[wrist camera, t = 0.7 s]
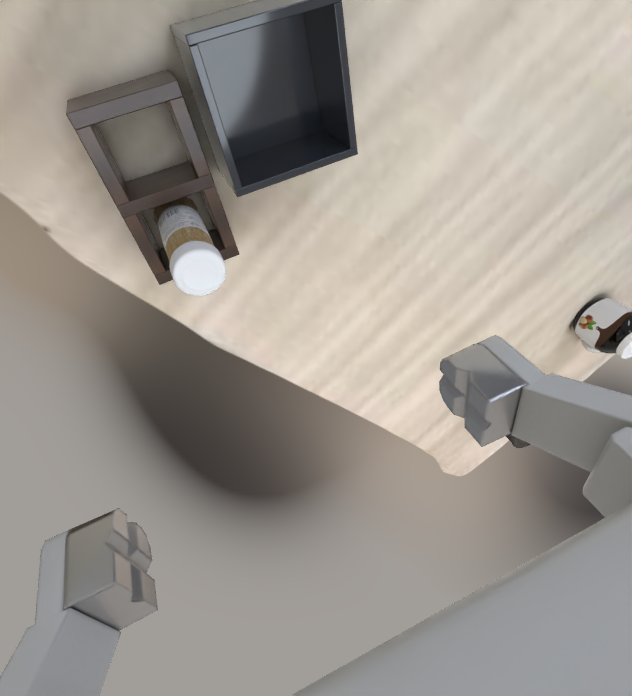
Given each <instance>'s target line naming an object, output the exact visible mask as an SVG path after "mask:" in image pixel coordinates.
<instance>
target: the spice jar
mask: <svg viewBox="0 0 632 696" xmlns="http://www.w3.org/2000/svg"><path fill="white" fill-rule="evenodd" d="M154 219H155V222H156V223H157V225H158V228H159V231H160V235H161V238H162V241H163V245H164V248H165V250H166V253H167V256H168V259H169V262H170V265H169V267H170V272H171V275H172V278H173V280H174V282H175V284H176V286H177V287H178V288H179V289H180V290H181V291H183V292H184V293H186V294H189V295H192V296H204V295H208V294H210V293H212V292H214V291H216V290H217V289H218V288H219V287H220V286H221V285H222V283H223V282H224V280H225V277H226V265H225V262H224V260H223V258H222V256H221V254H220V252H219V251H218V250H217V248H215V247H214V245H213V242H212V239H211V237H210V235H209V233H208V231H207V229H206V227H205V225H204V223H203V221H202V219H201V217H200V215H199V214H198V212H197V208H196V206H195V204H194V203H193V201H192V200H191V199H190V198H188V197H187V196H185V197H182V198H179V199H176V200H174V201H171V202H168V203H165V204H162V205H159V206H156V207H155V208H154Z"/></svg>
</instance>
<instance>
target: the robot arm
mask: <svg viewBox="0 0 632 696" xmlns="http://www.w3.org/2000/svg"><path fill="white" fill-rule="evenodd" d="M440 371H441V372H442V373H443V374H444V375H443V377H442V378H441V380H440V381H439V385H440V393H441V395H442V398H443V400H444V402H445V404H446V405H447V407H448V408H449V409H450V411H451V412H452V413H453V414H454V415H457V416H460V417H462V418H464V421H465V428H466V429H467V431H468V432H469V433H470V434H471V435H472V436H473V437H474V439H475V440H476V441H477V442H478V443H479V444H480V446H481V447H483V446H485V445H487V444H489V443H491V442H494V441H496V440H498V439H500V438H502V437H504V436H506V435H509V434H511V433H512V434H511V435H512V436H514V437H516V438H519V439H521V440H523V441H525V442H527V443H529V444H532V445H534V446H536V447H538V448H540V449H542V450H544V451H546V452H549V453H551V454H553V455H555V456H557V457H559V458H561V459H564V460H566V461H568V462H570V463H572V464H574V465H576V466H579V467H581V468H583V469H585V470H587V471H589V472H591V474H590V476H589V477H588V479H587V481H586V483H585V485H584V487H583V495H584V496H585V497H586V498H587V499H588V500H589V501H590V502H591V503H592V504H593V505H594V506H595V507H596V508H597V509H598V510H599V511H600V512H601V513H602V515H603V516H604V517H605V519H603V520H601V521H599V522H597V523H595V524H594V525H592V526H590V527H588V528H587V529H585V530H583V531H581V532H580V533H578V534H576V535H574V536H572V537H571V538H569V539H567V540H565V541H564V542H562V543H560V544H558V545H556V546H555V547H553V548H551V549H549V550H548V551H546V552H544V553H543V554H541V555H539V556H537V557H535V558H533V559H532V560H530V561H528V562H526V563H525V564H523V565H521V566H519V567H518V568H516V569H514V570H512V571H510V572H509V573H507V574H505V575H503V576H502V577H500V578H498V579H496V580H495V581H493V582H491V583H489V584H487V585H486V586H484V587H482V588H480V589H478V590H477V591H475V592H473V593H472V594H470V595H468V596H466V597H464V598H463V599H461V600H459V601H457V602H455V603H454V604H452V605H451V606H449V607H447V608H445V609H443V610H441V611H439V612H438V613H436V614H434V615H432V616H431V617H429V618H427V619H425V620H424V621H422V622H420V623H418V624H416V625H415V626H413V627H411V628H409V629H408V630H406V631H404V632H402V633H400V634H399V635H397V636H395V637H393V638H392V639H390V640H388V641H386V642H385V643H383V644H381V645H379V646H378V647H376V648H374V649H372V650H370V651H369V652H367V653H365V654H363V655H362V656H360V657H358V658H357V659H354V660H353V661H351V662H349V663H348V664H346V665H344V666H342V667H340V668H338V669H337V670H335V671H333V672H332V673H330V674H328V675H326V676H324V677H322V678H321V679H319V680H317V681H315V682H314V683H312V684H310V685H308V686H307V687H305V688H303V689H301V690H299V691H298V692H296V693H294V694H292V695H291V696H632V396H630V395H626V394H623V393H619V392H615V391H612V390H608V389H605V388H601V387H597V386H594V385H590V384H587V383H584V382H580V381H577V380H573V379H570V378H566V377H562V376H559V375H555V374H549V375H547V376H546V375H545V374H544V373H543V372H542V371H540V370H539V369H538V368H537V367H536V366H534V365H533V364H532V363H531V362H530V361H528V360H527V359H526V358H525V357H524V356H522V355H521V354H520V353H519V352H518V351H517V350H515V349H514V348H513V347H512V346H511V345H509V344H508V343H507V342H506V341H505V340H503V339H502V338H501V337H499V336H496V335H495V336H491V337H489V338H487V339H485V340H483V341H481V342H479V343H477V344H473V345H471V346H469V347H467V348H465V349H463V350H461V351H459V352H456V353H454V354H452V355H450V356H448V357H446V358H444V359H442V361H441V362H440ZM151 561H152V555H151V548H150V545H149V542H148V539H147V536H146V534H145V532H144V531H143V529H142V528H141V527H140V526H139V525H138V524H137V523H133V522H127V514H126V513H124V512H123V511H122V510H120V509H119V508H118V509H116V510H113V511H111V512H109V513H107V514H104V515H102V516H100V517H97V518H95V519H93V520H90V521H88V522H86V523H84V524H81V525H79V526H77V527H75V528H72V529H70V530H68V531H65V532H63V533H61V534H59V535H56V536H54V537H52V538H50V539H48V540H45V542H44V545H43V547H42V549H41V555H40V568H39V579H38V592H37V604H36V617H35V624H34V625H33V626H31V627H29V628H28V629H27V630H26V632H25V633H24V635H23V637H22V639H21V641H20V642H19V644H18V646H17V648H16V650H15V651H14V653H13V655H12V657H11V659H10V660H9V662H8V664H7V666H6V667H5V669H4V671H3V673H2V675H1V676H0V696H100V693H101V690H102V687H103V684H104V681H105V678H106V675H107V672H108V669H109V666H110V663H111V660H112V657H113V655H114V652H115V649H116V646H117V643H118V640H119V637H120V634H121V632H120V631H119V630H121V629H123V628H125V627H127V626H129V625H130V624H133V623H134V622H136V621H138V620H140V619H142V618H144V617H146V616H148V615H149V614H151V613H153V612H155V611H157V610H158V608H157V599H156V590H155V581H154V579H153V578H152V577H151V576H149V575H148V574H147V570H148V568H149V566H150V564H151Z"/></svg>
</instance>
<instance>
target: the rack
mask: <svg viewBox="0 0 632 696" xmlns="http://www.w3.org/2000/svg"><path fill="white" fill-rule="evenodd" d="M163 102H166V103H167V106H168V108H169V111H170V113H171V116H172V118H173V121H174V124H175V126H176V129H177V131H178V134H179V137H180V139H181V142H182V144H183V147H184V150H185V152H186V155H187V157H188V160H189V161H188V162H185V163H182V164H179V165H176V166H173V167H170V168H167V169H164V170H161V171H159V172H156V173H153V174H150V175H147V176H144V177H141V178H138V179H135V180H132V181H129V182H126V183H125V181H124V179H123V177H122V175H121V173H120V171H119V169H118V167H117V165H116V163H115V161H114V159H113V157H112V155H111V153H110V151H109V149H108V147H107V145H106V143H105V141H104V139H103V137H102V135H101V133H100V131H99V130H98V128H97V126H96V123H99V122H102V121H105V120H109V119H112V118H115V117H118V116H121V115H125V114H128V113H131V112H134V111H137V110H141V109H144V108H147V107H150V106H153V105H157V104H160V103H163ZM66 114H67V116H68V118H69V120H70V122H71V123H72V125H73V127H74V129H75V130H76V133H77V134H78V136H79V138H80V140H81V142H82V144H83V145H84V147H85V149H86V151H87V153H88V155H89V156H90V158H91V160H92V162H93V164H94V166H95V167H96V169H97V171H98V173H99V175H100V177H101V178H102V180H103V182H104V184H105V186H106V187H107V189H108V191H109V193H110V195H111V197H112V198H113V200H114V202H115V204H116V206H117V208H118V210H119V211H120V213H121V215H122V217H123V218H124V220H125V222H126V224H127V226H128V228H129V230H130V231H131V233H132V235H133V237H134V239H135V241H136V242H137V244H138V246H139V248H140V250H141V252H142V253H143V255H144V257H145V259H146V261H147V263H148V264H149V266H150V268H151V270H152V272H153V274H154V275H155V277H156V279H157V281H158V283H159V284H163V283H166V282H168V281H171V280H173V278H172V275H171V272H170V267H169V265H170V262H169V259H168V256H167V253H166V250H165V248H162V249H160V250H159V247H158V245H157V243H156V242H155V240H154V238H153V236H152V234H151V232H150V230H149V228H148V226H147V224H146V222H145V220H144V218H143V216H142V214H141V212H142V211H145V210H148V209H151V208H154V207H156V206H159V205H162V204H165V203H168V202H171V201H174V200H176V199H179V198H182V197H185V196H188V195H191V194H193V193H196V192H199V191H201V194H202V196H203V199H204V201H205V204H206V207H207V209H208V212H209V214H210V217H211V220H212V222H213V225H214V227H215V229H214V230H211V231H208V233H209V235H210V237H211V239H212V242H213V245H214V247H215V248H217V250H218V251H219V252H220V254H221V256H222V258H223V260H226V259H229V258H231V257H234V256H236V255H239V251H238V249H237V246H236V243H235V240H234V237H233V235H232V232H231V229H230V226H229V223H228V221H227V218H226V215H225V212H224V209H223V207H222V204H221V201H220V198H219V195H218V193H217V190H216V187H215V184H214V181H213V178H212V176H211V173H210V170H209V167H208V164H207V162H206V159H205V156H204V153H203V150H202V148H201V145H200V142H199V139H198V136H197V134H196V131H195V128H194V125H193V122H192V120H191V117H190V114H189V111H188V108H187V106H186V103H185V100H184V97H183V94H182V92H181V89H180V86H179V83H178V80H177V79H176V78H175V77H174V76H173V75H172V74H171V72H170V71H169V70H166V71H162V72H159V73H156V74H152V75H149V76H146V77H142V78H139V79H136V80H132V81H129V82H126V83H122V84H119V85H116V86H112V87H109V88H106V89H102V90H99V91H96V92H92V93H89V94H86V95H82V96H79V97H76V98H72V99H69V100H68V101H67V113H66Z"/></svg>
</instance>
